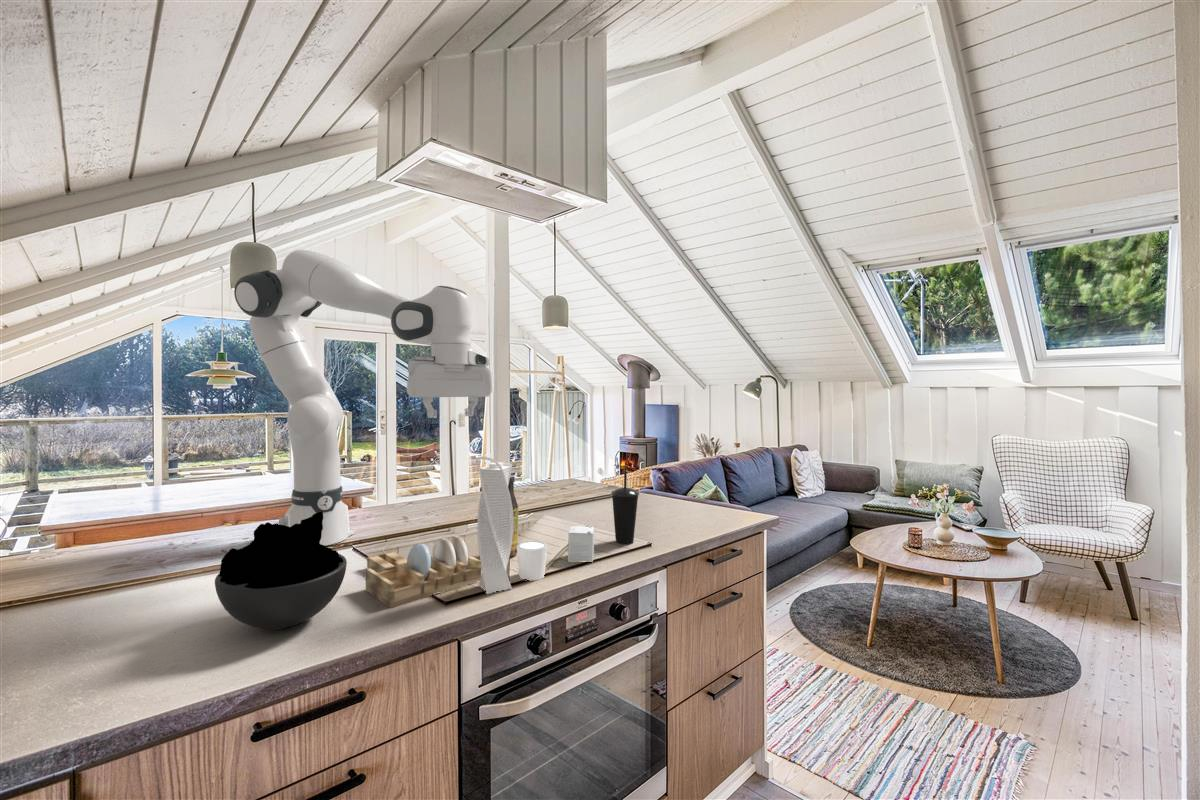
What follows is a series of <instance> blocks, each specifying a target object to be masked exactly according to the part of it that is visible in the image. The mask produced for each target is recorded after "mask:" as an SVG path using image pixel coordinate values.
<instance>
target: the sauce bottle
mask: <svg viewBox="0 0 1200 800" xmlns="http://www.w3.org/2000/svg"><path fill="white" fill-rule="evenodd" d="M515 480H516V479H515V476H514V475H513V474H511V476H510V480H509V485H508V489H509V492H510V496H511V501H512V507H513V520H514V525H513V539H512V546H511V552H510V556H509V558H511V557H515V556H516V555H517V545H518V544H519V505H518V502H517V498H516V496H515V489H514V487H515V485H514V484H515Z"/></svg>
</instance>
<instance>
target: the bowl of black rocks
mask: <svg viewBox="0 0 1200 800" xmlns="http://www.w3.org/2000/svg"><path fill="white" fill-rule="evenodd" d="M323 519H324V518H323V512H322V511H321V512H318V513H315V514H313V515H312V517H309V518H307V519H304V520H301V523H300V524H294V525H293V526H291V527H289V526H285V525H279V523H270V522H268V521H267V522H265V523H260V524H259V525H258V526H257V527H256V528H255V530H254V531H253V540H252V541H251V542H249V544H247V545H246V546H242V547H241V548H238V549H236V548H234V547H233V548H230V549H229V550H228V551H227V553H226V554H224V556H223V557H222V559H221V561H220V567H219V568H220V570H219V572H218V574H217V575H216V576H215V578H214V587H215V593H216V595H217V598H218V601H219V602H220V604H221V605H222V607H223V608H224V610H225V611H226V612H227V613H228V614H229V615H231V617H233V618H234V619H236V621H238V622H240V623H242V624H244V625H246V626H249V627H252V628H256V629H261V630H262V629H263V630H280V629H285V628H289V627H293V626H296V625H300V624H301V623H304V622H306V621H308V620H310V619H312V618H313V617H314V616H316V615H317V614H318V613H320V612H321V611H322V610H324V608H326V607H327V606H328V604H330V602H331V601H332V600H334V599H333V598H334V597H335V596H336V595H337V594H338V592H339V590H340V588H341V586H342V584H343V581H344V578H345V576H346V575H345V574H346V572H347V571H346V570H347V563H348V562H347V558H346V557H345V556H344V555H342V554H340V553H339V552H338V551H337V550H334V549H332V548H331V547H326V546H327V545H325V546H324V545H321V544H320V540H321V535H322V530H323V524H322V521H323Z"/></svg>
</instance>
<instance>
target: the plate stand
mask: <svg viewBox="0 0 1200 800" xmlns="http://www.w3.org/2000/svg"><path fill="white" fill-rule="evenodd" d="M366 559H367V560H366V563H367V565H366V566H367V567H366V568H371V569H372V570H374V571H375V572H377V573H379V572H383V571H387V570H391V569H395V562H396V561H399V562H401V563H403V564H405V565H406V566H407V558H405V557H403V556H401V555H400V554H398V553H396V552H395V551H387V552H383V553H377V554H373V555H369V556H366Z"/></svg>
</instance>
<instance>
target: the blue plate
mask: <svg viewBox="0 0 1200 800" xmlns="http://www.w3.org/2000/svg"><path fill="white" fill-rule="evenodd" d="M431 555H432V554H431V551H430V549H429V546H428V545H426V544H424V543H415V544H414V545H412V547H411V548H410V549H409V552H408V554H407V558H406V559H407V566H408V567H410V568H412V569H413V570H415V571H417V572H419V573H420V574H422V575H424V581H425V580H426V579H427V577H428V575H429V572H430V567H431V557H432V556H431Z"/></svg>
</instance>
